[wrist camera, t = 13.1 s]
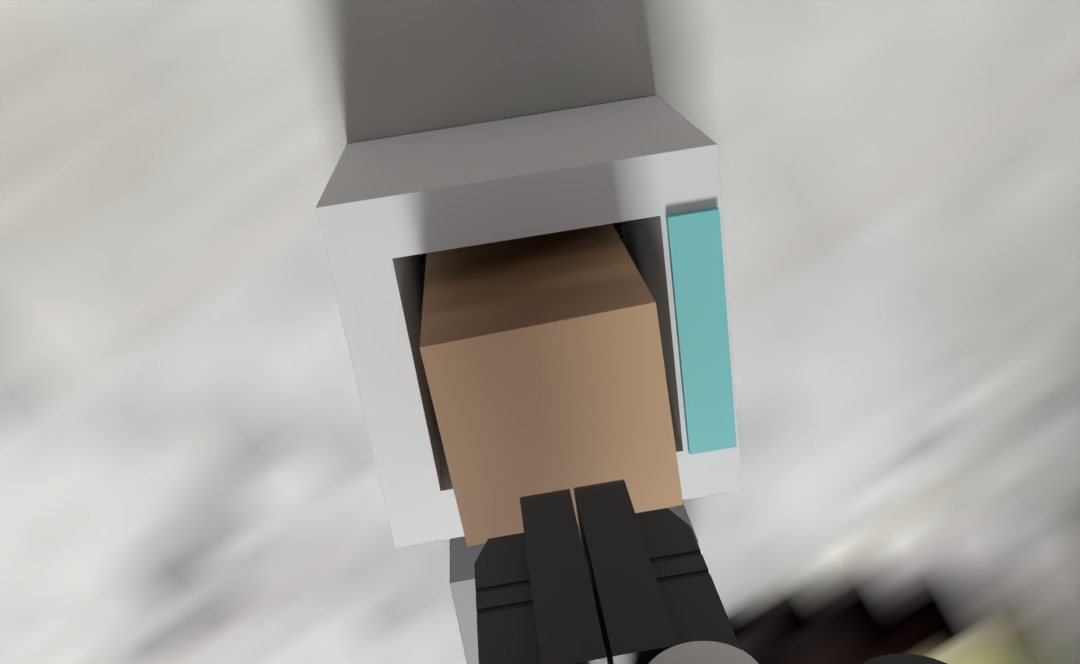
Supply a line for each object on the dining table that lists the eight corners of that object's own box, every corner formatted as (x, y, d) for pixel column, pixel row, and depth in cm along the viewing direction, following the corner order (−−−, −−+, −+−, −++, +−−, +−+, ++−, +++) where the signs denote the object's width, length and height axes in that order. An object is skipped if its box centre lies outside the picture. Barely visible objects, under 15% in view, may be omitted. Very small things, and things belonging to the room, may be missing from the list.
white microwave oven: (656, 95, 24) (720, 146, 18) (682, 375, 27) (744, 494, 21) (346, 143, 24) (314, 210, 18) (406, 421, 27) (394, 553, 21)
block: (587, 178, 25) (655, 301, 17) (609, 324, 26) (683, 504, 18) (429, 208, 25) (419, 347, 17) (461, 352, 26) (467, 547, 18)
